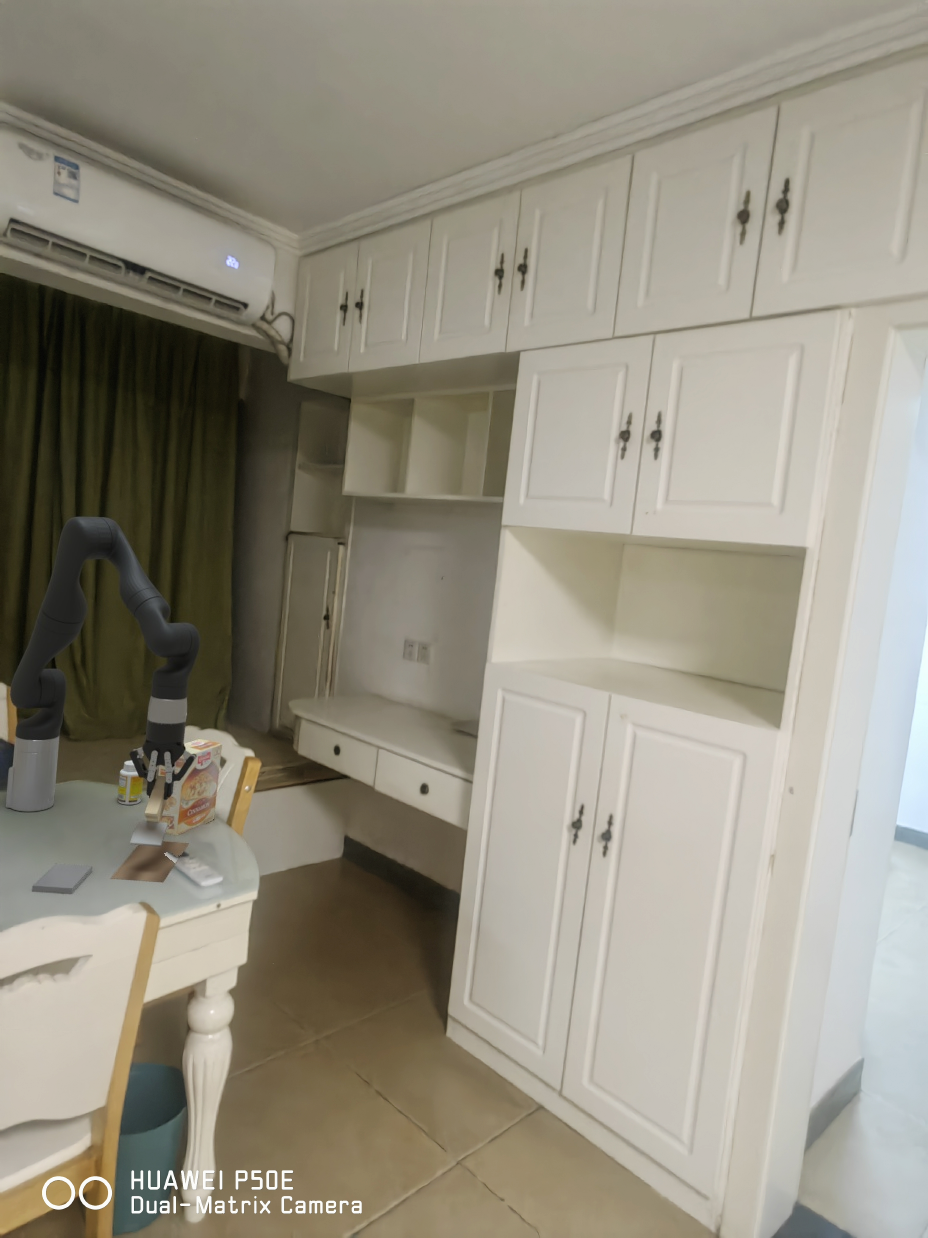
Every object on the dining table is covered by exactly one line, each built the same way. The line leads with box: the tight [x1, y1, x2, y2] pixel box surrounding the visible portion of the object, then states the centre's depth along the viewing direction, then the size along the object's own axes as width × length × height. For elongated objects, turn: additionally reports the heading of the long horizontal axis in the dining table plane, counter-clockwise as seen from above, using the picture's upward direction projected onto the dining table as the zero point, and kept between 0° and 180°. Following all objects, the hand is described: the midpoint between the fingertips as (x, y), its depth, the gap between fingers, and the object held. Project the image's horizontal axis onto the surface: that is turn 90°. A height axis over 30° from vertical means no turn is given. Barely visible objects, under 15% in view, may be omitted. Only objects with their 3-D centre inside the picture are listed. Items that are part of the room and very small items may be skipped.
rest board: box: [110, 840, 190, 883], centre depth 158 cm, size 10×20×1 cm, turn 6°
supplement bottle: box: [117, 760, 144, 806], centre depth 190 cm, size 6×6×10 cm
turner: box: [129, 775, 168, 847], centre depth 155 cm, size 14×6×4 cm
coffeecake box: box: [157, 738, 223, 836], centre depth 179 cm, size 15×7×20 cm, turn 164°
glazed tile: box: [31, 862, 94, 895], centre depth 144 cm, size 7×2×10 cm
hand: (159, 797), depth 158 cm, fingers closed on turner, 2 cm apart
